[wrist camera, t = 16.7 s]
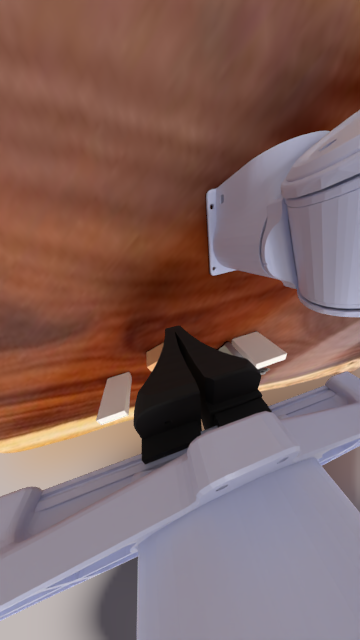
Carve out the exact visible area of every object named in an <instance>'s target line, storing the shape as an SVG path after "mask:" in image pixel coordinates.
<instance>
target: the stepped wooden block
mask: <svg viewBox="0 0 360 640" xmlns="http://www.w3.org/2000/svg"><path fill="white" fill-rule="evenodd" d="M163 344H164V343H162V344H160V345H159V346H157V347H155V348H153V349H151V350H150V351H148V352H146V354H147V368H148V369H149V370H150V371H151V372H152V371H153V369H154V367H155V365H156V363H157V361H158V359H159V357H160V354H161V351H162V348H163Z"/></svg>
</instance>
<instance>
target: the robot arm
mask: <svg viewBox="0 0 360 640" xmlns="http://www.w3.org/2000/svg"><path fill="white" fill-rule="evenodd" d="M206 204H207V223H208V243H209V262H210V274H211V275H213V276H214V275H218V274H223V273H227V272H231V271H235V270H239V271H244V272H248V273H253V274H257V275H261V276H266V277H270V278H274V279H279V280H281V281H282V282H283V284H284V286H287V287H291V288H294V289H297V294H298V298H299V300H300V301H301V302H302V303H303V304H304V305H305V306H306V307H308V308H309V309H312V310H314V311H316V312H320V313H323V314H328V315H333V316H341V317H360V110H359V111H357V112H356V113H355V114H353V115H352V116H350V117H349V118H348V119H346V120H345V121H344V122H342V123H341V124H340V125H338V126H337V127H336V128H334V129H333V130H332V131H331V132H330V131H318V132H313V133H308V134H305V135H301V136H298V137H295V138H292V139H290V140H287V141H285V142H283V143H280V144H278V145H276V146H274V147H272V148H270V149H269V150H267V151H265V152H263V153H261V154H260V155H258V156H256V157H255V158H253V159H252V160H251V161H249V162H248V163H247V164H246V165H244V166H243V167H242V168H241V169H240V170H238V171H237V172H236V173H235V174H233V175H232V176H231V177H230V178H229V179H227V180H226V181H225V182H224V183H222V184H221V185H220V186H219V187H218V188H216V189H211V190H209V191H208V192H207V194H206ZM210 205H212V209H210ZM213 267H214V270H213V269H212V268H213ZM260 379H261V373H260V371H259V370H258V369H257V368H256V367H255V366H254V365H253V364H252V363H251V362H250V361H249V360H248V359H246V358H242V357H238V356H234V355H230V354H227V353H224V352H221V351H219V350H216V349H214V348H212V347H209V346H207V345H206V344H204V343H202V342H200V341H199V340H197V339H196V338H194V337H193V336H191V335H190V334H189V333H188V332H186V331H185V330H184V329H183V328H182V327H181V326H175V327H171V328H166V329H165V340H164V344H163V348H162V351H161V354H160V357H159V359H158V361H157V363H156V365H155V367H154V369H153V371H152V373H151V374H150V376H149V378H148V379H147V381H146V382H145V383H144V385H143V386H142V387H141V389H140V390H139V392H138V395H137V399H136V404H135V410H134V427H135V429H136V431H137V432H138V434H139V435H140V437H141V438H142V454H139V455H137V456H134V457H131V458H128V459H126V460H123V461H121V462H118V463H115V464H112V465H109V466H107V467H104V468H102V469H99V470H96V471H93V472H91V473H88V474H85V475H83V476H80V477H77V478H75V479H72V480H69V481H66V482H64V483H61V484H58V485H56V486H53V487H51V488H48V489H45V490H41V489H40V488H37V487H27V488H23V489H20V490H17V491H15V492H12V493H9V494H6V495H4V496H1V497H0V621H1V620H3V619H5V618H7V617H9V616H11V615H13V614H15V613H18V612H20V611H22V610H24V609H25V608H28V607H30V606H32V605H34V604H36V603H39V602H40V601H43V600H45V599H47V598H49V597H51V596H53V595H56V594H58V593H60V592H62V591H64V590H66V589H68V588H71V587H73V586H75V585H77V584H79V583H81V582H83V581H85V580H88V579H90V578H92V577H94V576H96V575H98V574H101V573H103V572H105V571H107V570H109V569H111V568H114V567H116V566H118V565H120V564H122V563H124V562H127V561H129V560H131V559H133V558H135V557H137V556H138V589H137V640H360V512H359V511H358V510H357V509H356V508H355V506H354V505H353V504H352V503H351V501H350V500H349V499H348V498H347V497H346V495H345V494H344V493H343V492H342V490H341V489H340V488H339V487H338V486H337V484H336V483H335V482H334V481H333V479H332V478H331V477H330V476H329V475H328V473H327V472H326V471H325V470H324V469H323V467H322V465H324V464H326V463H327V462H329V461H331V460H333V459H335V458H337V457H339V456H341V455H343V454H345V453H347V452H349V451H350V450H353V449H354V448H356V447H358V446H360V379H359V378H358V377H356V376H354V375H353V374H351V373H349V372H343V373H340V374H337V375H335V376H332V377H331V378H330V379H328V381H327V382H326V384H325V386H322V387H319V388H316V389H314V390H311V391H308V392H306V393H303V394H300V395H298V396H295V397H293V398H290V399H287V400H284V401H282V402H279V403H276V404H274V405H271V406H267V404H266V403H265V402H264V400H263V399H262V398H261V397H262V394H261V393H260V392H259V390H258V386H259V383H260ZM201 419H202V422H203V426H204V429H205V430H204V431H202V429H201Z"/></svg>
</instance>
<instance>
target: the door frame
mask: <svg viewBox="0 0 360 640" xmlns="http://www.w3.org/2000/svg"><path fill="white" fill-rule="evenodd" d="M232 345H233V346H234V348H235V349H236V350H237V351H238V352H239V353H240V354H241V355H242V356H243V357H244V358H246V359H248V360H249V361H250V362H251V363H252V364H253V365H254V366H255V367H256V368H257V369H259V368H262V367H265V366H268V365H271V364H273V363H276V362H279V361H282V360H285V358H286V355H287V353H286V352H285V351H283V350H282V349H280V348H279V347H278V346H276V345H275V344H274V343H272V342H271V341H269V340H268V339H267V338H265V337H264V336H263V335H261V334H260V333H258V332H253V333H250V334H247V335H244V336H241V337H238V338H234V339H232ZM131 379H132V376H131V375H130V373H129V372H127V373H124V374H121V375H117V376H114V377H111V378H108V379H107V382H106V386H105V390H104V393H103V397H102V401H101V404H100V408H99V412H98V416H97V419H96V421H97V422H98V423H100V424H101V425H103V424H105V423H108V422H111V421H114V420H117V419H119V418H122V417H125V416H128V413H129V402H130V391H131Z"/></svg>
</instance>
